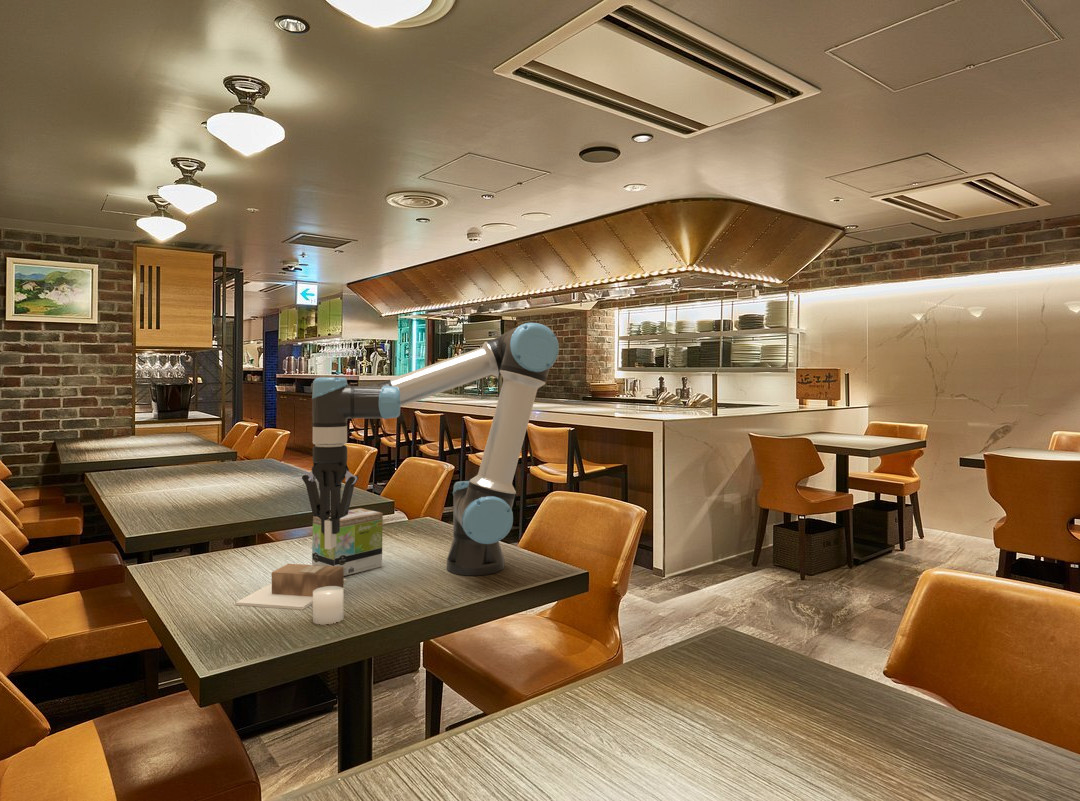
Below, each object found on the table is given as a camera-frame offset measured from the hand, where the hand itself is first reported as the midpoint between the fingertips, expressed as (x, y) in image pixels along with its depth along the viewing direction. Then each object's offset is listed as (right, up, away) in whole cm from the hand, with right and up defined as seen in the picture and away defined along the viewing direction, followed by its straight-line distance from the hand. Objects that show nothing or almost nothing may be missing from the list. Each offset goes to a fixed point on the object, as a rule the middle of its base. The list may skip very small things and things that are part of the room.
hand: (330, 547), depth 148 cm
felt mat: (-9, -11, +2) cm, 14 cm away
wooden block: (+1, -8, 0) cm, 8 cm away
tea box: (-2, -11, +20) cm, 23 cm away
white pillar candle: (+4, -12, -15) cm, 19 cm away
